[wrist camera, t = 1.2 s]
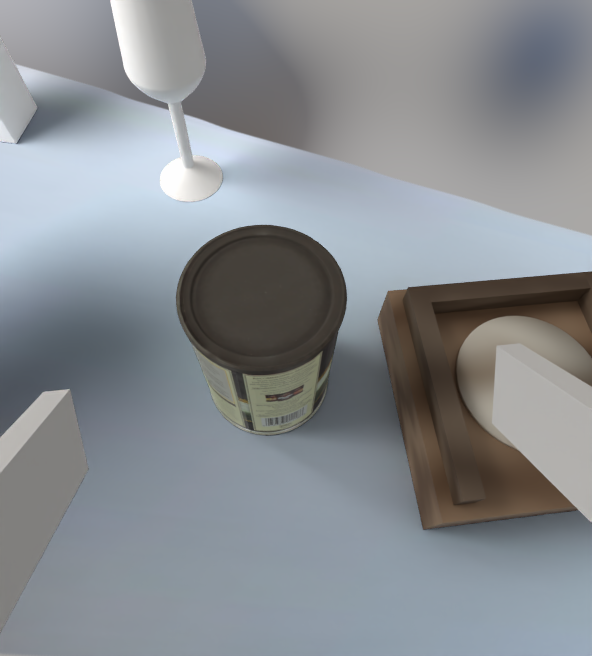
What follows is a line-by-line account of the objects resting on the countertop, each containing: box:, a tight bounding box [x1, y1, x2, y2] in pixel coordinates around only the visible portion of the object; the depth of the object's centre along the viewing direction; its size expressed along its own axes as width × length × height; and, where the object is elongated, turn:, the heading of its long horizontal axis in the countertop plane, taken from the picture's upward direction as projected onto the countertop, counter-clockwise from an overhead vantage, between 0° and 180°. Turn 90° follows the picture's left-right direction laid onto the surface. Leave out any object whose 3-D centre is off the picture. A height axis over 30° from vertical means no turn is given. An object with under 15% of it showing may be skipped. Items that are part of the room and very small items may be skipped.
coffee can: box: [176, 225, 347, 435], centre depth 35 cm, size 10×10×14 cm
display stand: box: [377, 272, 592, 530], centre depth 38 cm, size 18×18×7 cm
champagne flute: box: [110, 0, 223, 202], centre depth 41 cm, size 7×7×24 cm
